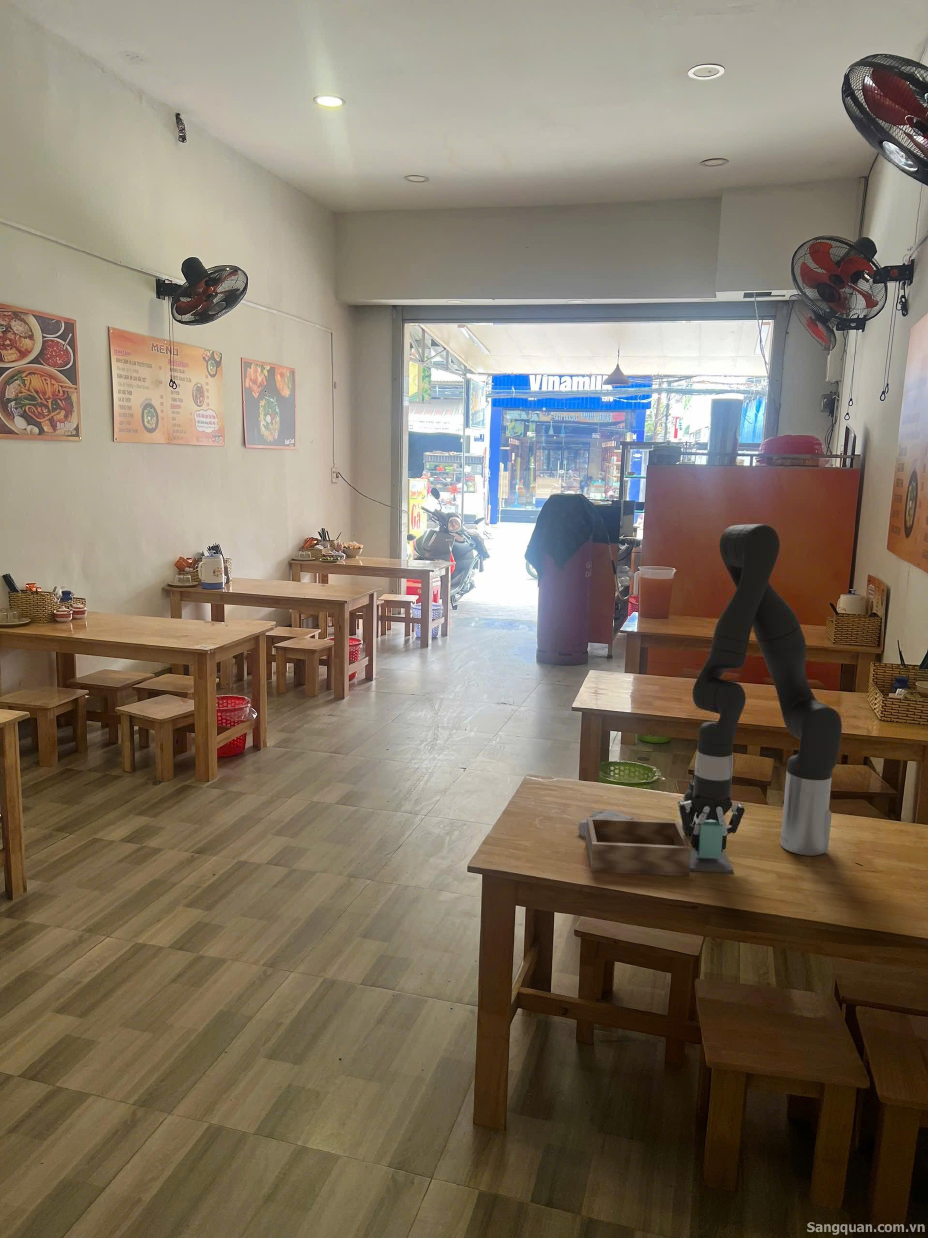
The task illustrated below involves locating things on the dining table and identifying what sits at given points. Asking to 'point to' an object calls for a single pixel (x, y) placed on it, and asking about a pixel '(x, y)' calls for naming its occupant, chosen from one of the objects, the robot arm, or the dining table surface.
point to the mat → (710, 863)
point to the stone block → (600, 814)
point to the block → (710, 839)
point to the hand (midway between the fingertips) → (707, 849)
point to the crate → (637, 846)
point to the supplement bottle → (692, 812)
